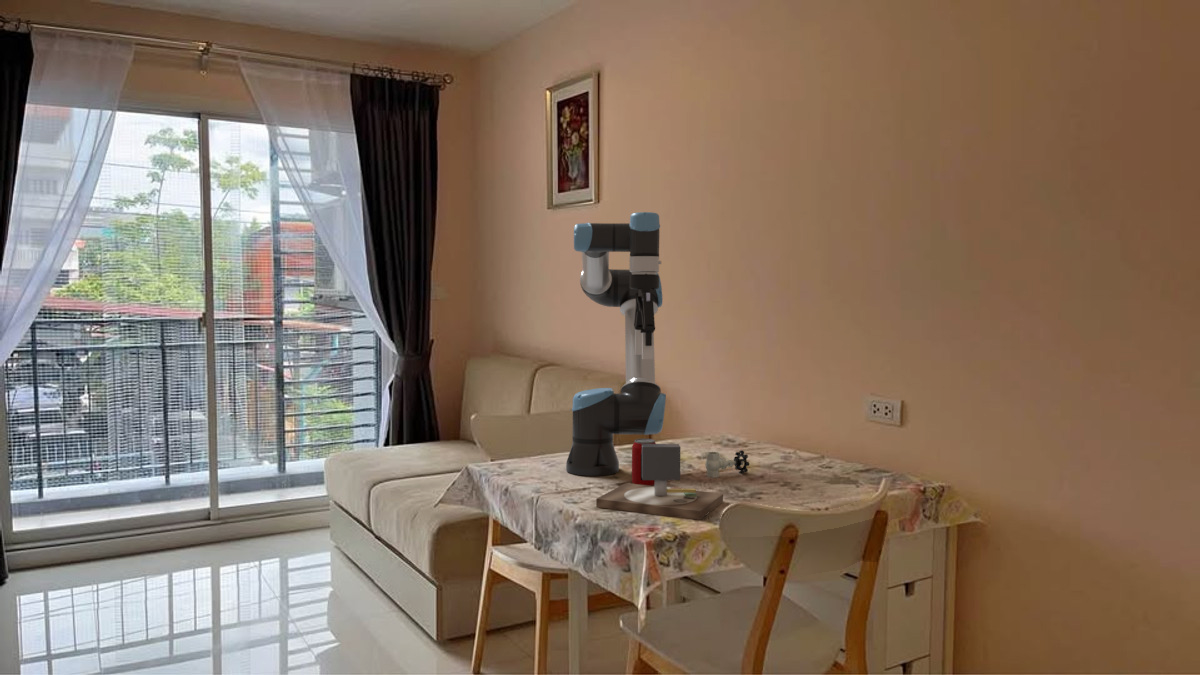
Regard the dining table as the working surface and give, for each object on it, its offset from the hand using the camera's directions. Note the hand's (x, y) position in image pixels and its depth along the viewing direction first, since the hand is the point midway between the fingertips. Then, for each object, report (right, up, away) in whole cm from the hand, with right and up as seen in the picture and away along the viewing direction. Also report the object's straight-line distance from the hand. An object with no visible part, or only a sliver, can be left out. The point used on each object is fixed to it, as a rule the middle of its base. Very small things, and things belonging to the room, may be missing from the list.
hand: (643, 356), depth 219 cm
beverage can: (+1, -35, +8) cm, 35 cm away
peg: (+5, -33, -12) cm, 36 cm away
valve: (+24, -34, +21) cm, 46 cm away
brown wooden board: (+3, -36, -12) cm, 37 cm away
